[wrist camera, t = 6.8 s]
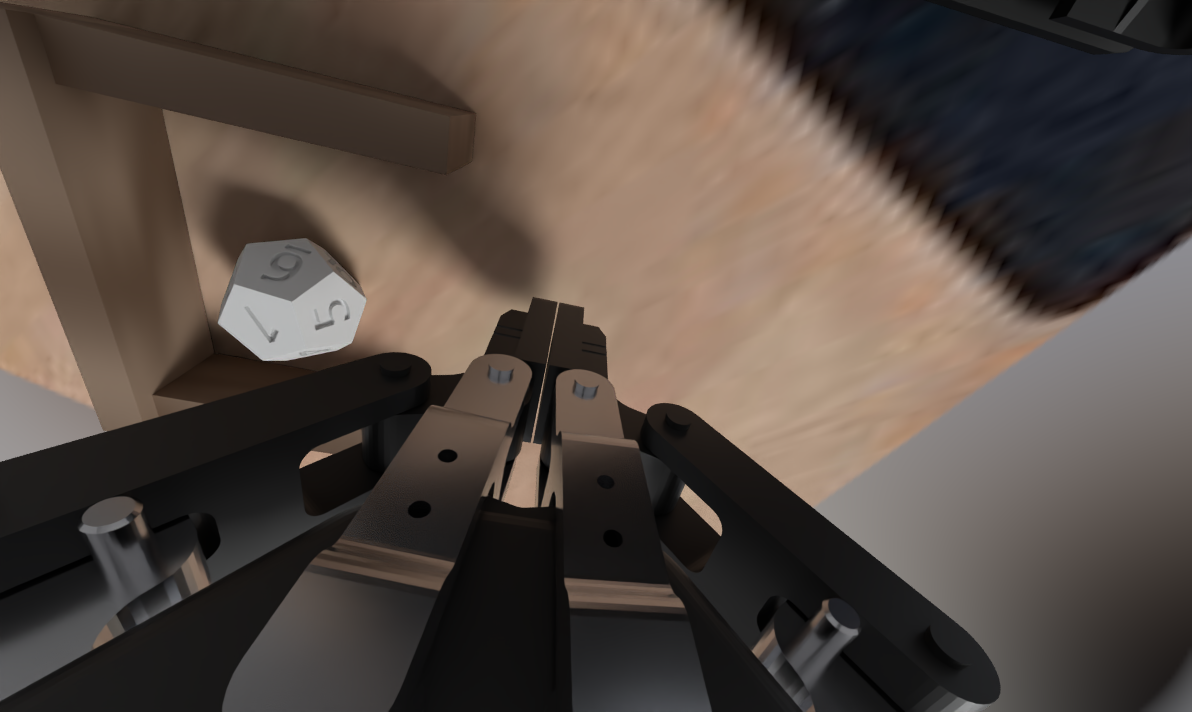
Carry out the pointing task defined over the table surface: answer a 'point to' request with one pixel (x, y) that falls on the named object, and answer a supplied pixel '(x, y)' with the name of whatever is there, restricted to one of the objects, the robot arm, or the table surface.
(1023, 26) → the end cap
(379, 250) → the table surface
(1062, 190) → the table surface
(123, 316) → the dice corral
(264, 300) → the game die
